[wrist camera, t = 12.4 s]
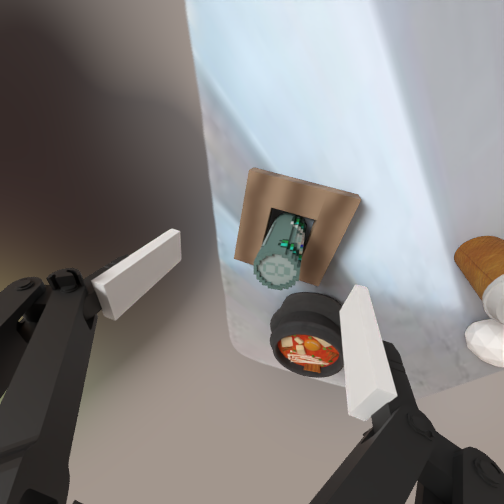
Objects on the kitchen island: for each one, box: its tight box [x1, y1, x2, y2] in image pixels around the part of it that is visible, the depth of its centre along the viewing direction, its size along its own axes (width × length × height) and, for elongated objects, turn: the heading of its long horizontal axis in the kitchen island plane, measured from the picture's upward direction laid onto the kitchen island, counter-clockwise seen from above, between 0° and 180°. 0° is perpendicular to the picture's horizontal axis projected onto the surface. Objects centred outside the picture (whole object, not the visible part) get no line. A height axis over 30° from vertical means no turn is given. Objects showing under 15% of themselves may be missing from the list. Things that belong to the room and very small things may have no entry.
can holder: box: [234, 168, 361, 286], centre depth 38 cm, size 18×18×3 cm
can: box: [254, 212, 306, 290], centre depth 33 cm, size 6×6×15 cm
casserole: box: [270, 292, 344, 378], centre depth 47 cm, size 25×19×8 cm
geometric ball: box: [465, 319, 504, 367], centre depth 35 cm, size 8×8×8 cm
